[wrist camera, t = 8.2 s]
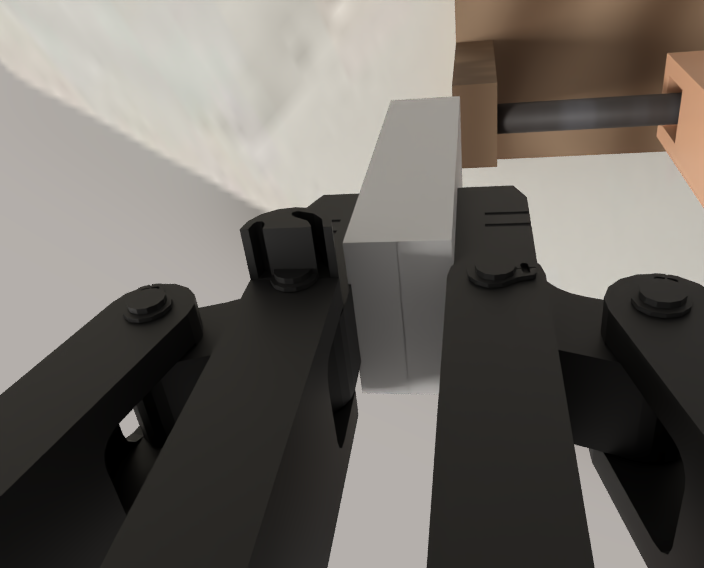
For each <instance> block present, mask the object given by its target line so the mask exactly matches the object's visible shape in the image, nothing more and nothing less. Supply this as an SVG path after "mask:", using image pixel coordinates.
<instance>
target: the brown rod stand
mask: <svg viewBox="0 0 704 568" xmlns="http://www.w3.org/2000/svg"><path fill="white" fill-rule="evenodd" d="M455 20H456V50H455V60H454V71H453V81H452V97H454V96H460V119H461V156H462V168H479V167H497V159H514V158H535V157H556V156H578V155H599V154H620V153H641V152H663V151H666V150H665V148H664V147H663V145H662V144H661V142H660V141H659V139H658V138H657V128H658V125H676V124H678V119H679V112H680V105H681V98H682V92H680V93H664V94H662V89H663V82H664V74H665V66H666V58H667V53H675V52H689V51H702V50H704V0H455Z"/></svg>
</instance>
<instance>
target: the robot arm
mask: <svg viewBox="0 0 704 568" xmlns="http://www.w3.org/2000/svg"><path fill="white" fill-rule="evenodd" d="M240 232H241V237H242V242H243V246H244V251H245V256H246V260H247V265H248V269H249V274H250V278H251V280H250V282H249V284H248V286H247V288H246V289H245V291H244V293H243V295H242V297H241V299H238V300H234V301H230V302H227V303H222V304H216V305H211V306H207V307H201V308H198V305H197V302H196V298H195V295H194V294H193V293H192V292H191V290H189V288H187V287H183V286H180V285H177V284H152V286H150V285H147V286H143V287H140V288H138V289H137V290H135V291H132V292H129V293H127V294H125V295H123V296H122V297H120V298H119V299H117V300H115V301H114V302H112V303H111V304H110V305H109V306H107V307H106V308H105V309H104V310H103V311H101V312H100V313H99V314H98V315H97V316H95V317H94V318H93V319H92V320H90V322H88V323H87V324H86V325H84V326H83V327H82V328H81V329H80V330H78V331H77V332H76V333H75V334H74V335H72V336H71V337H70V338H69V339H68V340H66V341H65V342H64V343H63V344H61V345H60V346H59V347H58V348H57V349H56V350H54V351H53V352H52V353H51V354H49V355H48V356H47V357H46V358H45V359H43V360H42V361H41V362H40V363H38V364H37V365H36V366H35V367H34V368H32V369H31V370H30V371H29V372H28V373H26V374H25V375H24V376H23V377H21V378H20V379H19V380H18V381H17V382H15V383H14V384H13V385H12V386H11V387H9V388H8V389H7V390H6V391H5V392H3V393H2V394H1V395H0V568H327V567H328V562H329V557H330V552H331V547H332V542H333V537H334V532H335V527H336V522H337V518H338V513H339V508H340V503H341V498H342V492H343V488H344V482H345V478H346V473H347V468H348V463H349V458H350V454H351V449H352V444H353V439H354V434H355V428H356V424H357V419H358V408H357V400H356V392H355V387H356V382H357V378H358V373H359V370H360V378H361V385H362V393H382V394H439V399H438V413H437V428H436V442H435V456H434V470H433V471H434V472H433V485H432V500H431V514H430V528H429V544H428V557H427V568H594V562H593V556H592V550H591V544H590V538H589V532H588V526H587V520H586V514H585V508H584V502H583V496H582V490H581V484H580V478H579V472H578V467H577V460H576V454H575V448H574V444H576V445H579V446H583V447H587V448H589V451H590V456H591V459H592V463H593V465H594V467H595V469H596V470H597V472H598V474H599V476H600V478H601V480H602V482H603V484H604V486H605V488H606V489H607V491H608V493H609V495H610V497H611V499H612V501H613V503H614V504H615V506H616V508H617V510H618V512H619V514H620V516H621V518H622V520H623V521H624V523H625V525H626V527H627V529H628V531H629V533H630V535H631V537H632V539H633V540H634V542H635V544H636V546H637V548H638V550H639V552H640V554H641V556H642V557H643V559H644V561H645V563H646V565H647V567H648V568H704V287H703V286H702V285H700V284H698V283H695V282H692V281H689V280H687V279H684V278H681V277H678V276H674V275H669V274H668V275H666V274H657V273H655V274H640V275H634V276H630V277H626V278H623V279H620V280H618V281H617V282H615V283H614V284H612V285H611V286H609V287H608V289H607V292H606V294H605V296H604V300H601V299H596V298H590V297H584V296H580V295H576V294H572V293H569V292H566V291H564V290H561V289H559V288H556V287H555V286H553V285H552V284H550V283H549V282H547V280H546V274H545V272H544V271H543V269H542V267H541V265H540V264H538V263H537V259H536V253H535V246H534V240H533V234H532V227H531V221H530V214H529V208H528V202H527V197H526V196H525V195H524V194H522V193H521V192H520V191H519V190H518V189H517V188H515V187H514V186H491V187H465V188H462V156H461V119H460V96H454V97H439V98H424V99H408V100H393V101H391V102H390V105H389V108H388V111H387V114H386V117H385V120H384V123H383V126H382V129H381V132H380V135H379V138H378V140H377V143H376V146H375V149H374V152H373V155H372V158H371V161H370V164H369V167H368V170H367V173H366V176H365V179H364V182H363V184H362V187H361V190H360V193H359V194H340V195H323V196H322V197H320V198H319V199H318V200H316V201H315V202H314V203H312V204H311V205H310V206H308V207H307V208H299V207H294V208H286V209H278V210H274V211H271V212H268V213H264V214H261V215H259V216H257V217H255V218H253V219H252V220H249V221H248V222H247V223H246V224H245V225H244V226H243V227H242V228H241V229H240ZM132 409H134V412H135V414H136V417H137V420H138V422H139V425H140V426H139V427H138V428H137V429H136V430H135V432H134V433H132V434H131V435H130V436H128V437H127V438H125V437H124V435H123V433H122V431H121V428H120V426H119V423H120V422H121V421H122V420H123V419H124V418H125V417H126V415H127V414H128V413H129V412H130V411H131V410H132Z"/></svg>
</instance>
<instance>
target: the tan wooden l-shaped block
mask: <svg viewBox="0 0 704 568" xmlns="http://www.w3.org/2000/svg"><path fill="white" fill-rule="evenodd" d="M680 92H682V98H681V105H680V112H679V119H678V124H676V125H658V128H657V138H658V139H659V141H660V142H661V144H662V145H663V147H664V148H665V150H666V151H667V153H668V155H669V156H670V158H671V159H672V161H673V162H674V164H675V165H676V167H677V168H678V170H679V171H680V173H681V174H682V176H683V177H684V179H685V180H686V182H687V183H688V185H689V186H690V188H691V189H692V191H693V193H694V194H695V196H696V197H697V199H698V200H699V202H700V203H701V205H702V206H703V208H704V50H702V51H689V52H675V53H667V58H666V66H665V74H664V82H663V89H662V94H664V93H680Z"/></svg>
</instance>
